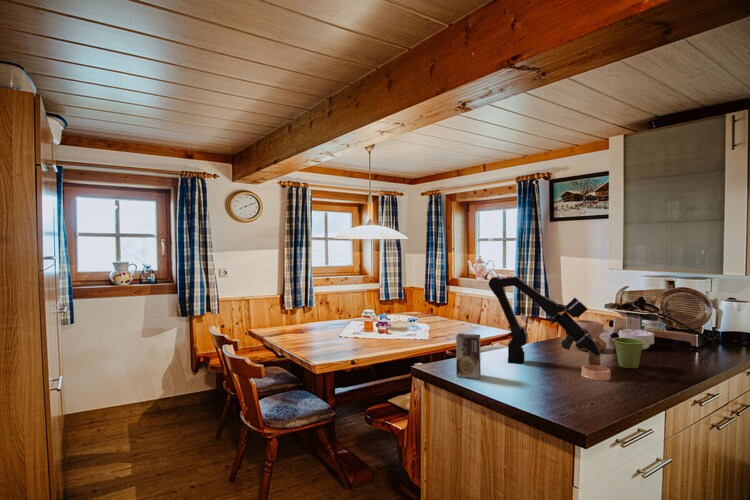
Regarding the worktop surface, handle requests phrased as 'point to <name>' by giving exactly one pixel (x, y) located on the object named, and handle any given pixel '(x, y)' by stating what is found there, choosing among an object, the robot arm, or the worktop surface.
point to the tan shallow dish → (596, 372)
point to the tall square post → (593, 357)
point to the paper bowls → (638, 336)
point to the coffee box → (468, 355)
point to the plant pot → (628, 351)
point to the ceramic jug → (593, 331)
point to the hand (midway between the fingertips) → (598, 353)
